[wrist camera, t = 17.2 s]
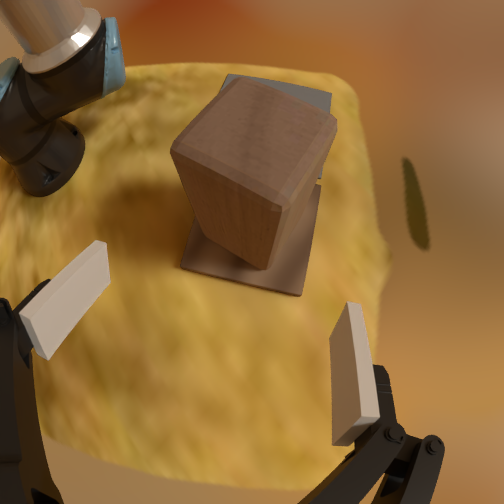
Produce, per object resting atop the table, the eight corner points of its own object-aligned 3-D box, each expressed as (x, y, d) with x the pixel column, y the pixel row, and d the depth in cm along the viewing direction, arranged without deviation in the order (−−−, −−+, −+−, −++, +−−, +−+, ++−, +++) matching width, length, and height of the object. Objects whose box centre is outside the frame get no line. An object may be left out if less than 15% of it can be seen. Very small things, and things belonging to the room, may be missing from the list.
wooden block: (201, 235, 39) (161, 146, 20) (241, 179, 41) (237, 69, 22) (266, 275, 37) (285, 212, 18) (303, 213, 40) (344, 115, 21)
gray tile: (194, 153, 44) (193, 152, 44) (228, 74, 49) (228, 73, 49) (320, 179, 43) (321, 178, 43) (331, 93, 48) (331, 93, 48)
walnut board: (182, 268, 39) (179, 266, 38) (214, 167, 43) (213, 162, 42) (299, 296, 38) (301, 295, 37) (319, 190, 43) (321, 185, 41)
